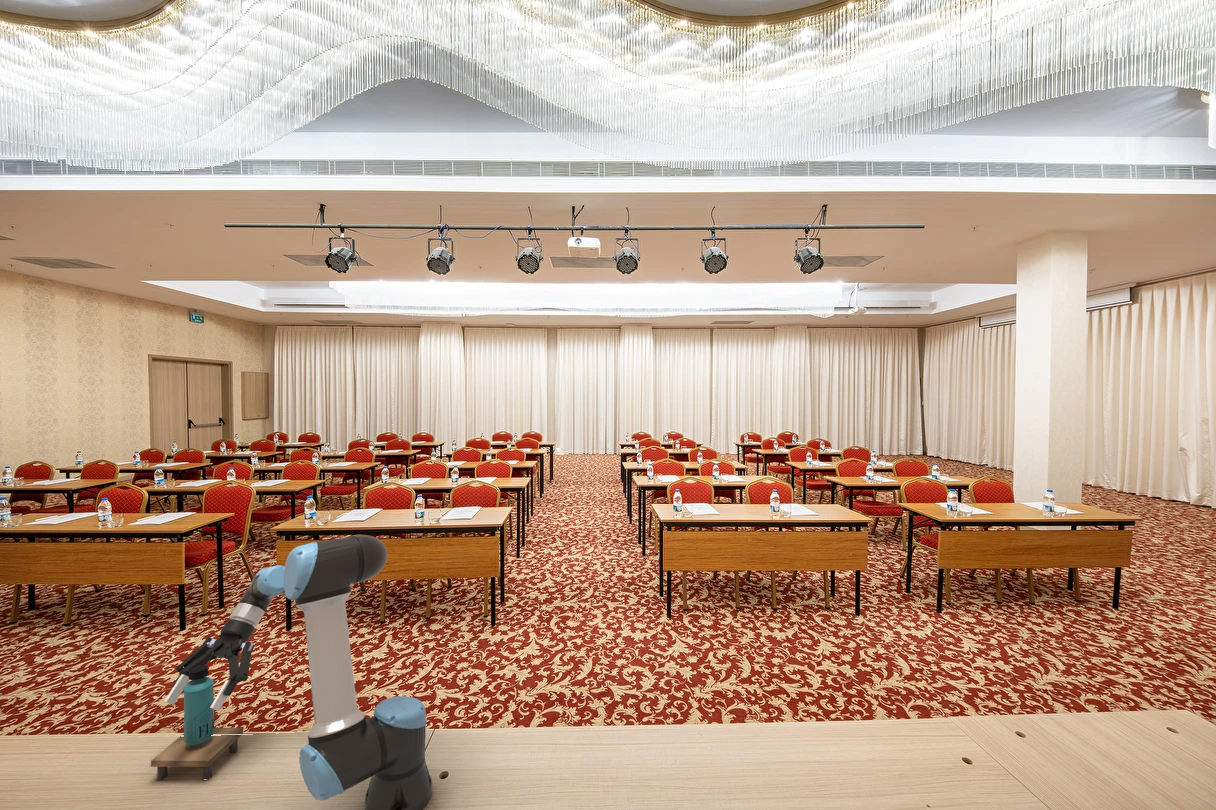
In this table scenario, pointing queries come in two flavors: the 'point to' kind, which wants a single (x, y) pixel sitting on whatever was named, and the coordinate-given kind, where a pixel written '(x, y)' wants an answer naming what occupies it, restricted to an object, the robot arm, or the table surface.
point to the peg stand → (196, 753)
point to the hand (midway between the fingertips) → (191, 706)
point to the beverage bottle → (198, 706)
